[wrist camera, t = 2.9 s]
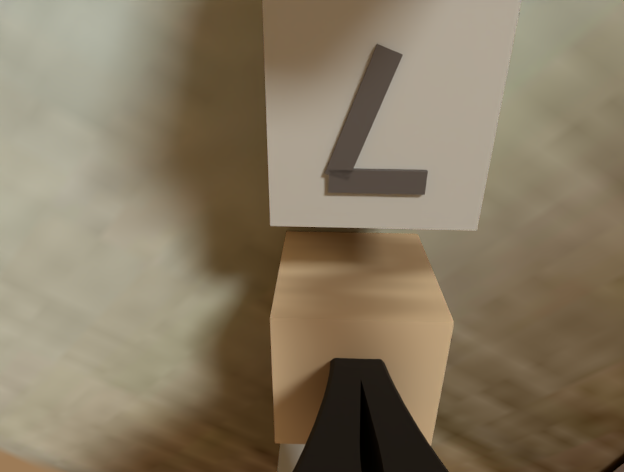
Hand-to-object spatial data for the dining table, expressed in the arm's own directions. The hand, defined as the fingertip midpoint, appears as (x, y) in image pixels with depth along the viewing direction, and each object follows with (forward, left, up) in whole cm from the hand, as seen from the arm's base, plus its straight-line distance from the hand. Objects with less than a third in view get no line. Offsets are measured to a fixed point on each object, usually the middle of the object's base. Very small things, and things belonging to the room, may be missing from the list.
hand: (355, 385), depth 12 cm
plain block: (0, 0, -5) cm, 5 cm away
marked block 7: (+3, -6, -5) cm, 9 cm away
